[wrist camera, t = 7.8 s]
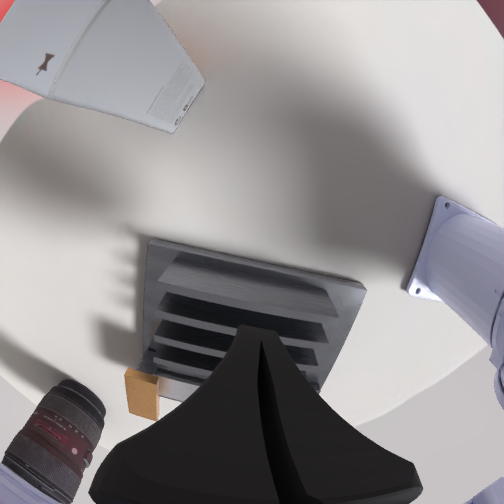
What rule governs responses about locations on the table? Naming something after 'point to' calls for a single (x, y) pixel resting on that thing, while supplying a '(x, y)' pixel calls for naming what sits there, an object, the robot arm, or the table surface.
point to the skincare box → (100, 58)
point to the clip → (177, 384)
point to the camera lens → (58, 441)
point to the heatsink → (233, 315)
